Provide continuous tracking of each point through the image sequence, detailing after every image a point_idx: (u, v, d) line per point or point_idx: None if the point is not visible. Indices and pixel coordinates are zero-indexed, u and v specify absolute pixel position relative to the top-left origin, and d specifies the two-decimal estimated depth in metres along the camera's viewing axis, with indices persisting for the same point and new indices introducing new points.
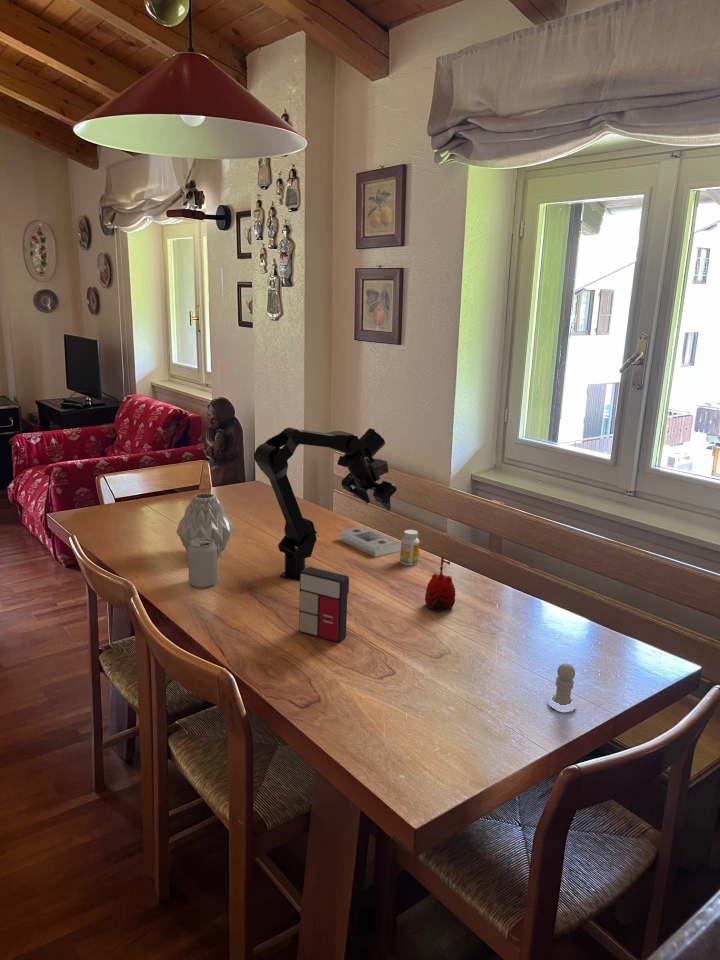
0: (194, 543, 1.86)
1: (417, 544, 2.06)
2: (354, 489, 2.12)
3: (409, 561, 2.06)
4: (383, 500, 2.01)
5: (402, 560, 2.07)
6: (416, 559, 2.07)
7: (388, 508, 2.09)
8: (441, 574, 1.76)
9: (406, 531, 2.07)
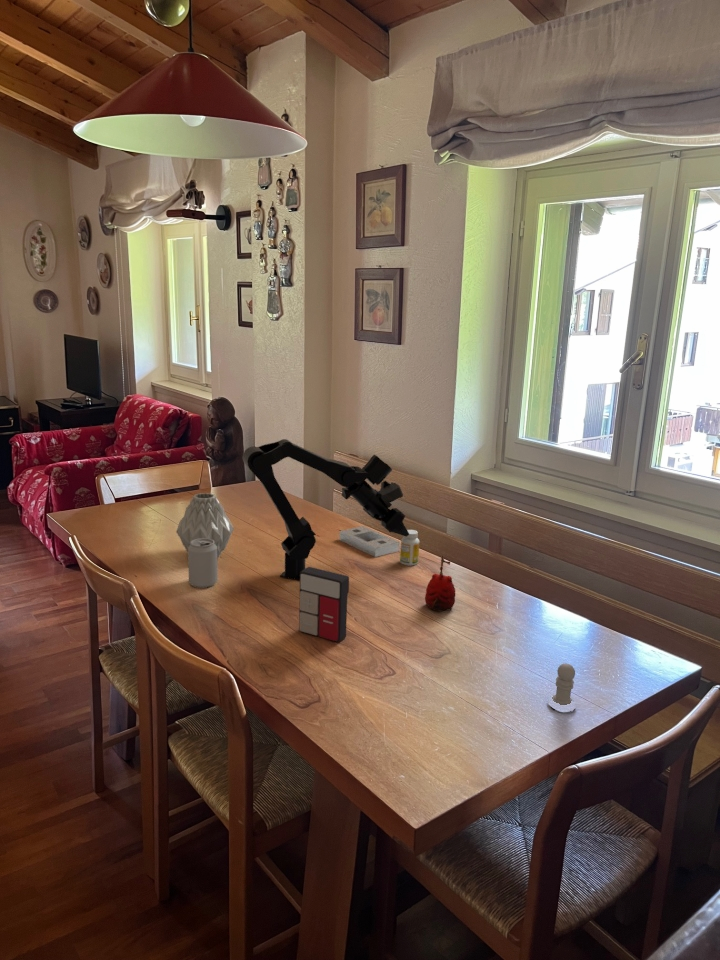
0: (194, 543, 1.86)
1: (417, 544, 2.06)
2: None
3: (409, 561, 2.06)
4: (389, 530, 1.94)
5: (402, 560, 2.07)
6: (416, 559, 2.07)
7: (405, 534, 2.00)
8: (441, 574, 1.76)
9: None
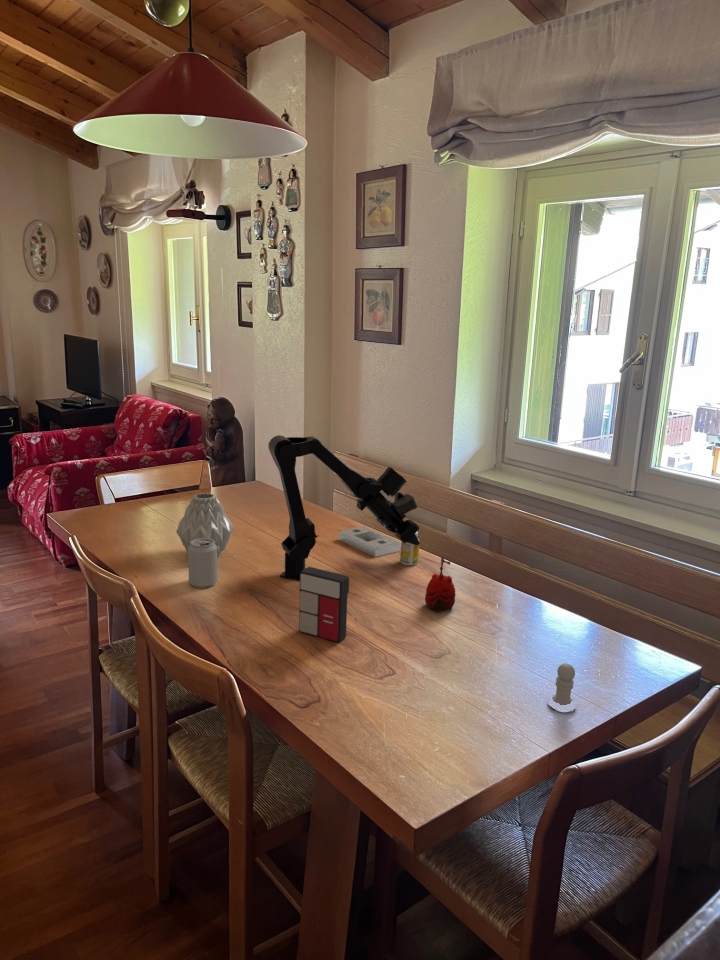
0: (194, 543, 1.86)
1: None
2: None
3: (409, 561, 2.06)
4: (403, 541, 1.96)
5: (402, 560, 2.07)
6: (416, 559, 2.07)
7: (416, 543, 2.05)
8: (441, 574, 1.76)
9: None
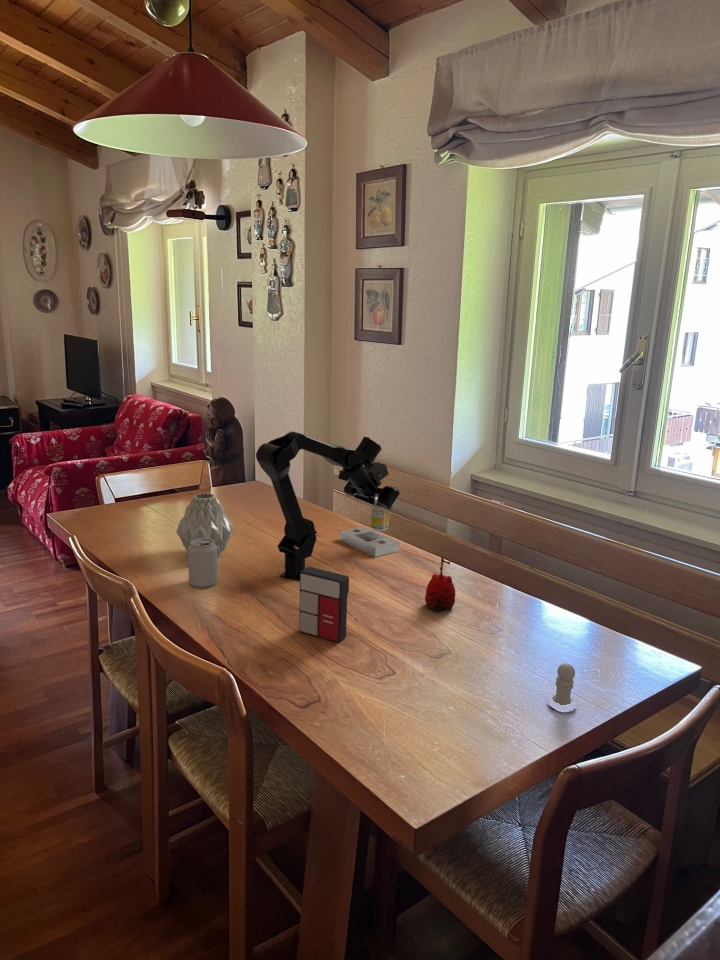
0: (194, 543, 1.86)
1: None
2: (361, 496, 2.15)
3: (383, 527, 2.15)
4: (388, 506, 2.05)
5: (375, 527, 2.15)
6: None
7: (389, 508, 2.14)
8: (441, 574, 1.76)
9: (377, 498, 2.15)
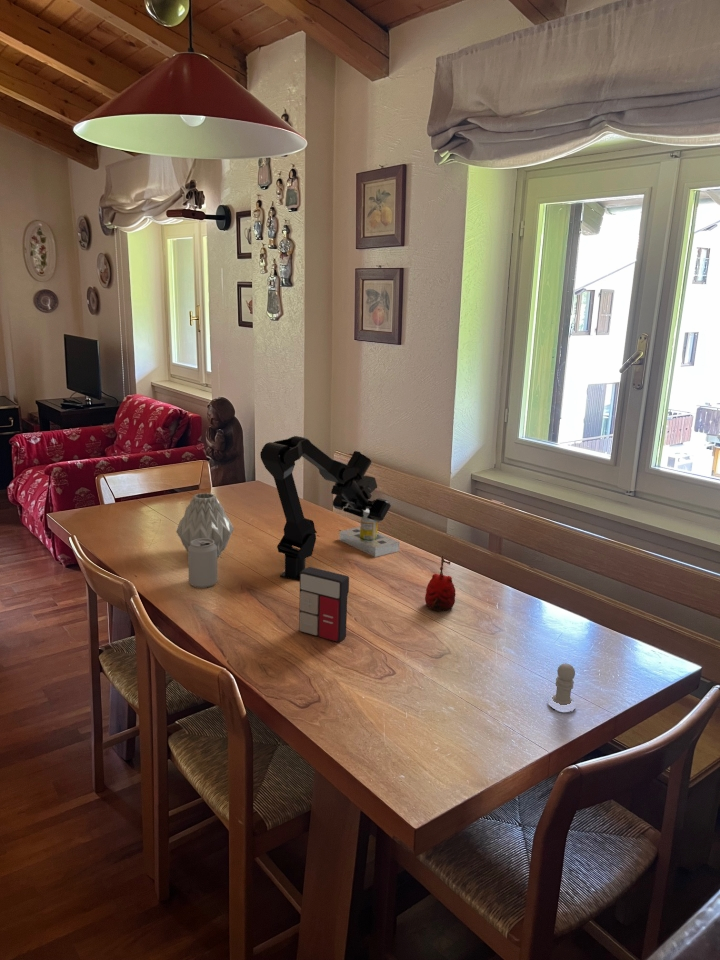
0: (194, 543, 1.86)
1: None
2: (351, 509, 2.17)
3: (372, 538, 2.19)
4: (380, 519, 2.09)
5: (365, 539, 2.19)
6: (376, 535, 2.21)
7: (378, 520, 2.18)
8: (441, 574, 1.76)
9: (365, 511, 2.19)
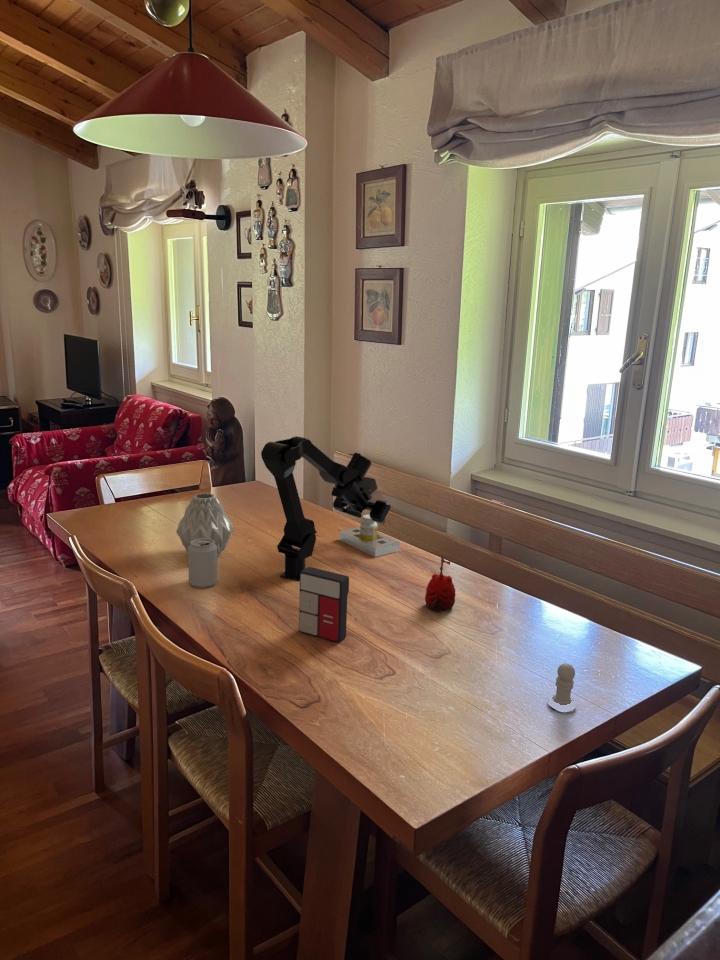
0: (194, 543, 1.86)
1: None
2: (347, 509, 2.19)
3: None
4: (381, 520, 2.09)
5: None
6: None
7: (383, 522, 2.17)
8: (441, 574, 1.76)
9: (365, 516, 2.19)
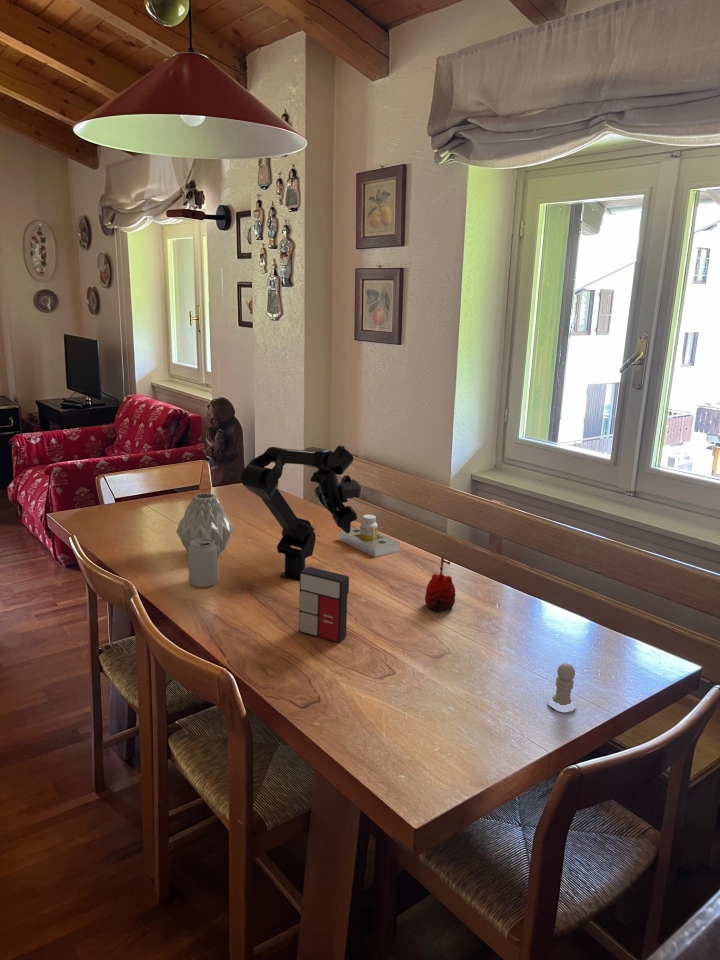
0: (194, 543, 1.86)
1: None
2: None
3: None
4: (338, 525, 2.00)
5: None
6: None
7: (347, 531, 2.08)
8: (441, 574, 1.76)
9: (365, 516, 2.19)
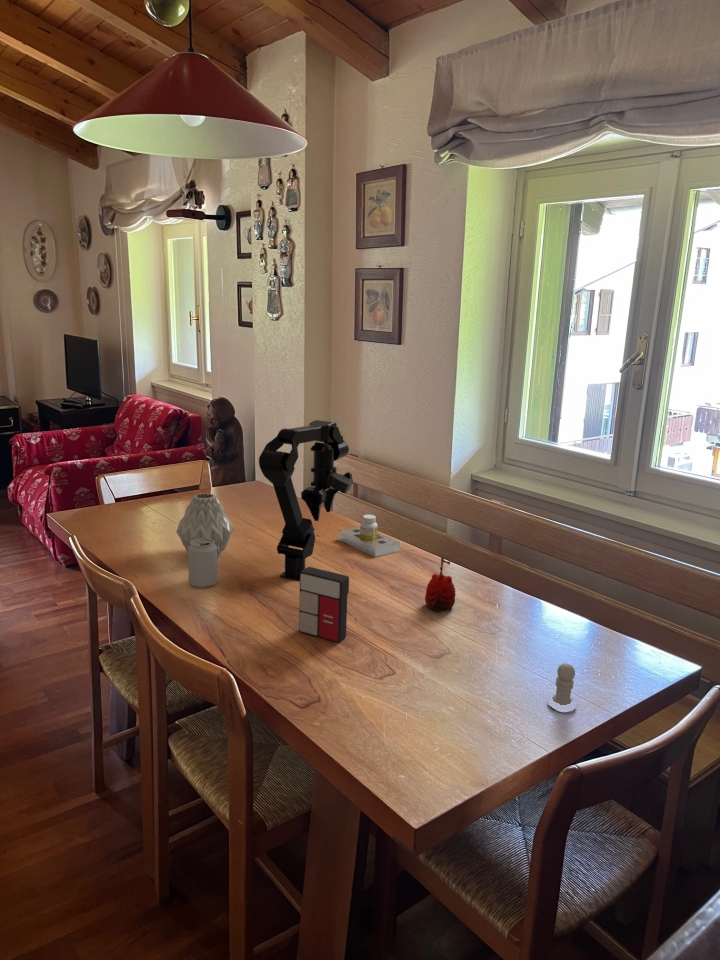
0: (194, 543, 1.86)
1: None
2: None
3: None
4: (301, 496, 1.97)
5: None
6: None
7: (314, 517, 2.02)
8: (441, 574, 1.76)
9: (365, 516, 2.19)
